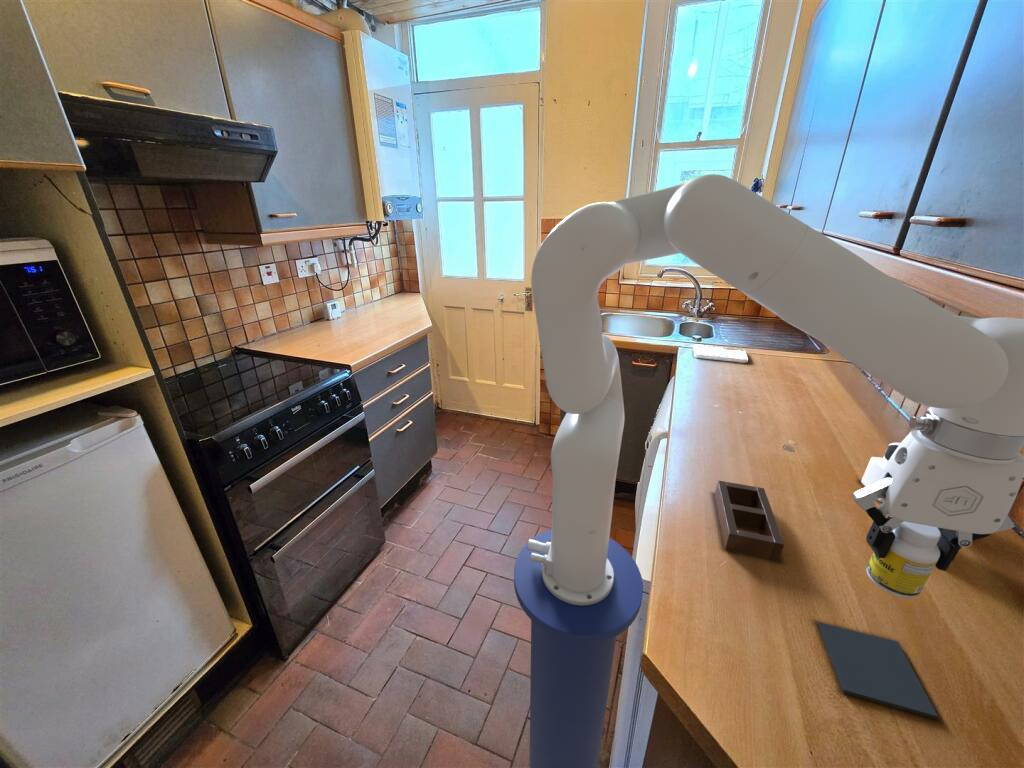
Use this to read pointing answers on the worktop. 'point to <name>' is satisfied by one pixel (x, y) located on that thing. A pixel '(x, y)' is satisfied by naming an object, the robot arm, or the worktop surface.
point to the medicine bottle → (878, 467)
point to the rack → (748, 521)
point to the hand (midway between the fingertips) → (904, 554)
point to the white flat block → (720, 354)
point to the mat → (875, 670)
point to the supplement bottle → (906, 560)
